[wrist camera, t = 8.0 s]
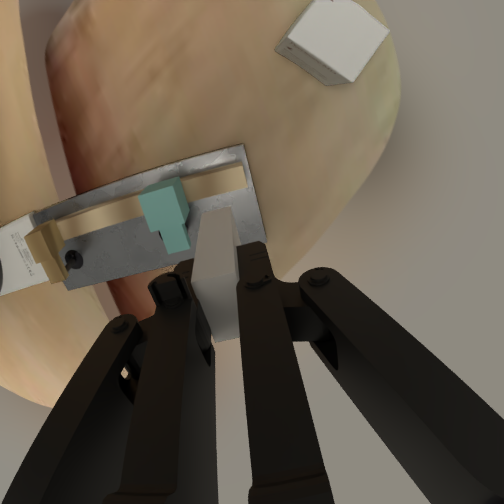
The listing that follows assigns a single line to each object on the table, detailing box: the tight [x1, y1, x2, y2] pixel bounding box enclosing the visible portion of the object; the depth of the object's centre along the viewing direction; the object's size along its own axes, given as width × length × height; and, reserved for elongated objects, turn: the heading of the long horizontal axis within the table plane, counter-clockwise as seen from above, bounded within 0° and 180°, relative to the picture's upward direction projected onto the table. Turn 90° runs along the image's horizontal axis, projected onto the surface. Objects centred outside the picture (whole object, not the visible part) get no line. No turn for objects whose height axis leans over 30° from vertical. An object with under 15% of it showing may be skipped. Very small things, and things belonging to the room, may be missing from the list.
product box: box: [275, 0, 390, 86], centre depth 22 cm, size 6×6×7 cm
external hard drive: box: [0, 212, 49, 296], centre depth 32 cm, size 2×8×12 cm
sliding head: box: [138, 176, 191, 254], centre depth 28 cm, size 3×6×5 cm, turn 14°
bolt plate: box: [33, 143, 267, 291], centre depth 32 cm, size 24×10×1 cm, turn 104°
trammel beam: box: [24, 161, 248, 284], centre depth 28 cm, size 23×6×5 cm, turn 103°
